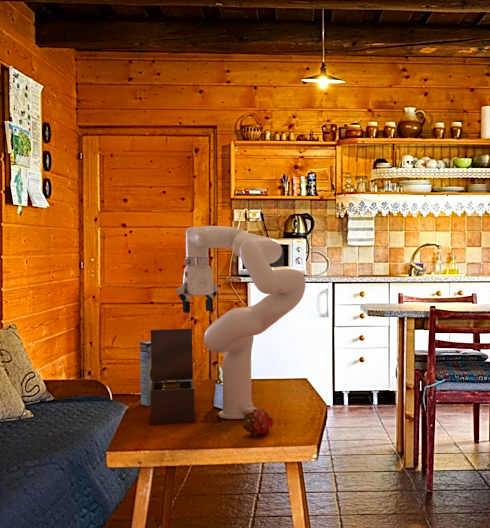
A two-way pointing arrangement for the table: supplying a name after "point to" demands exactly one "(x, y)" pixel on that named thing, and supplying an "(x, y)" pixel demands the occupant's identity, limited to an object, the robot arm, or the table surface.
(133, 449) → the table surface
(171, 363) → the dark brown upright block
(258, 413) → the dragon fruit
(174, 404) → the chest
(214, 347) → the robot arm
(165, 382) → the condiment
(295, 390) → the table surface
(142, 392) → the gum box
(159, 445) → the table surface
